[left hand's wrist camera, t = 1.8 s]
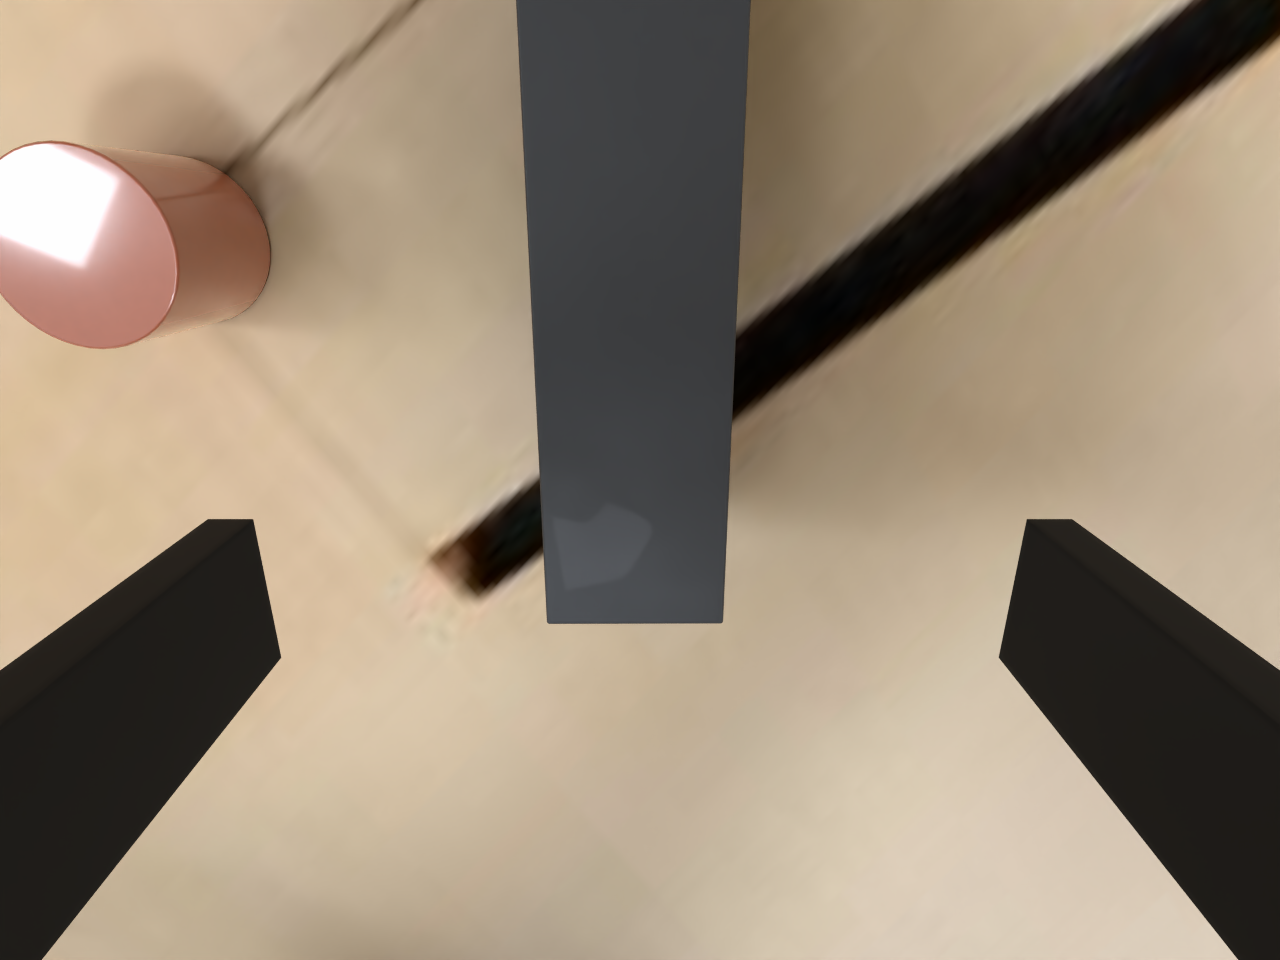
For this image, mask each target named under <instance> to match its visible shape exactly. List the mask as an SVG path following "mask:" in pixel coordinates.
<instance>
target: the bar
mask: <svg viewBox="0 0 1280 960" xmlns="http://www.w3.org/2000/svg"><path fill="white" fill-rule="evenodd" d="M750 3H751V0H516V7H517V27H518V47H519V67H520V87H521V107H522V128H523V148H524V168H525V188H526V208H527V228H528V248H529V269H530V289H531V309H532V329H533V349H534V369H535V389H536V409H537V430H538V450H539V470H540V490H541V510H542V530H543V550H544V570H545V591H546V611H547V622H548V623H549V624H618V623H722V622H723V609H724V586H725V564H726V541H727V519H728V497H729V474H730V452H731V429H732V407H733V384H734V362H735V340H736V317H737V295H738V272H739V250H740V228H741V205H742V183H743V160H744V138H745V115H746V93H747V71H748V48H749V26H750Z"/></svg>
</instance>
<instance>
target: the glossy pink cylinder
mask: <svg viewBox="0 0 1280 960" xmlns="http://www.w3.org/2000/svg"><path fill="white" fill-rule="evenodd" d="M269 266H270V247H269V240H268V235H267V231H266V228H265V226H264V223H263V220H262V218H261V216H260V214H259V212H258V210H257V208H256V207H255V205H254V204H253V202H252V200H251V199H250V198H249V197H248V195H247V194H246V193H245V192H244V190H243V189H242V188H241V187H240V186H239V185H238V184H237V183H236V182H235V181H233V180H232V179H231V178H230V177H229V176H227V175H226V174H225V173H223V172H222V171H220V170H218V169H217V168H215V167H213V166H211V165H209V164H207V163H205V162H202V161H199V160H196V159H193V158H188V157H183V156H176V155H168V154H160V153H152V152H144V151H136V150H128V149H120V148H112V147H104V146H96V145H88V144H80V143H72V142H64V141H38V142H33V143H29V144H25V145H22V146H20V147H17V148H15V149H13V150H11V151H10V152H8V153H6V154H5V155H3V156H2V157H1V158H0V294H1V295H2V296H3V297H4V299H5V300H6V301H7V302H8V303H9V304H10V305H11V306H12V307H13V309H14V310H15V311H16V312H18V313H19V314H20V315H21V316H22V317H23V318H24V319H26V320H27V321H28V322H30V323H31V324H32V325H34V326H35V327H37V328H38V329H40V330H41V331H43V332H45V333H47V334H48V335H50V336H52V337H55V338H57V339H59V340H62V341H64V342H67V343H70V344H73V345H77V346H81V347H87V348H95V349H111V348H119V347H124V346H128V345H132V344H136V343H140V342H144V341H147V340H151V339H155V338H159V337H163V336H167V335H170V334H174V333H178V332H182V331H186V330H190V329H194V328H197V327H201V326H205V325H209V324H213V323H217V322H220V321H224V320H227V319H230V318H233V317H235V316H237V315H238V314H240V313H242V312H243V311H245V310H246V309H247V308H248V307H250V306H251V305H252V303H253V302H254V301H255V300H256V299H257V297H258V296H259V294H260V293H261V291H262V289H263V287H264V285H265V283H266V279H267V276H268V272H269Z"/></svg>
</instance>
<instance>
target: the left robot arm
mask: <svg viewBox="0 0 1280 960" xmlns="http://www.w3.org/2000/svg"><path fill="white" fill-rule="evenodd" d="M280 658H281V654H280V649H279V644H278V640H277V635H276V630H275V625H274V620H273V615H272V610H271V605H270V600H269V595H268V590H267V585H266V580H265V575H264V571H263V566H262V561H261V556H260V551H259V546H258V541H257V536H256V531H255V526H254V521H253V519H208V520H206V521H205V522H204V523H202V524H201V525H199V526H198V527H197V528H195V529H194V530H193V531H191V532H190V533H188V534H187V535H186V536H184V537H183V538H182V539H180V540H179V541H177V542H176V543H175V544H173V545H172V546H171V547H169V548H168V549H166V550H165V551H164V552H162V553H161V554H160V555H158V556H157V557H155V558H154V559H153V560H151V561H150V562H149V563H147V564H146V565H144V566H143V567H142V568H140V569H139V570H138V571H136V572H135V573H133V574H132V575H131V576H129V577H128V578H127V579H125V580H124V581H123V582H121V583H120V584H118V585H117V586H116V587H114V588H113V589H112V590H110V591H109V592H107V593H106V594H105V595H103V596H102V597H101V598H99V599H98V600H96V601H95V602H94V603H92V604H91V605H90V606H88V607H87V608H85V609H84V610H83V611H81V612H80V613H79V614H77V615H76V616H74V617H73V618H72V619H70V620H69V621H68V622H66V623H65V624H63V625H62V626H61V627H59V628H58V629H57V630H55V631H54V632H52V633H51V634H50V635H48V636H47V637H46V638H44V639H43V640H41V641H40V642H39V643H37V644H36V645H35V646H33V647H32V648H30V649H29V650H28V651H26V652H25V653H24V654H22V655H21V656H19V657H18V658H17V659H15V660H14V661H13V662H11V663H10V664H8V665H7V666H6V667H4V668H3V669H2V670H0V960H42V959H43V957H44V956H45V955H46V954H47V952H48V951H49V950H50V949H51V947H52V946H53V945H54V944H55V942H56V941H57V940H58V939H59V937H60V936H61V935H62V933H63V932H64V931H65V930H66V928H67V927H68V926H69V925H70V923H71V922H72V921H73V920H74V918H75V917H76V916H77V915H78V913H79V912H80V911H81V909H82V908H83V907H84V906H85V904H86V903H87V902H88V901H89V899H90V898H91V897H92V896H93V894H94V893H95V892H96V891H97V889H98V888H99V887H100V886H101V884H102V883H103V882H104V880H105V879H106V878H107V877H108V875H109V874H110V873H111V872H112V870H113V869H114V868H115V867H116V865H117V864H118V863H119V862H120V860H121V859H122V858H123V856H124V855H125V854H126V853H127V851H128V850H129V849H130V848H131V846H132V845H133V844H134V843H135V841H136V840H137V839H138V838H139V836H140V835H141V834H142V833H143V831H144V830H145V829H146V827H147V826H148V825H149V824H150V822H151V821H152V820H153V819H154V817H155V816H156V815H157V814H158V812H159V811H160V810H161V809H162V807H163V806H164V805H165V803H166V802H167V801H168V800H169V798H170V797H171V796H172V795H173V793H174V792H175V791H176V790H177V788H178V787H179V786H180V785H181V783H182V782H183V781H184V780H185V778H186V777H187V776H188V774H189V773H190V772H191V771H192V769H193V768H194V767H195V766H196V764H197V763H198V762H199V761H200V759H201V758H202V757H203V756H204V754H205V753H206V752H207V751H208V749H209V748H210V747H211V745H212V744H213V743H214V742H215V740H216V739H217V738H218V737H219V735H220V734H221V733H222V732H223V730H224V729H225V728H226V727H227V725H228V724H229V723H230V721H231V720H232V719H233V718H234V716H235V715H236V714H237V713H238V711H239V710H240V709H241V708H242V706H243V705H244V704H245V703H246V701H247V700H248V699H249V698H250V696H251V695H252V694H253V692H254V691H255V690H256V689H257V687H258V686H259V685H260V684H261V682H262V681H263V680H264V679H265V677H266V676H267V675H268V674H269V672H270V671H271V670H272V668H273V667H274V666H275V665H276V663H277V662H278V661H279V660H280ZM999 658H1000V660H1001V661H1002V662H1003V663H1004V665H1005V666H1006V667H1007V668H1008V670H1009V671H1010V672H1011V674H1012V675H1013V676H1014V677H1015V679H1016V680H1017V681H1018V682H1019V684H1020V685H1021V686H1022V687H1023V689H1024V690H1025V691H1026V692H1027V694H1028V695H1029V696H1030V698H1031V699H1032V700H1033V701H1034V703H1035V704H1036V705H1037V706H1038V708H1039V709H1040V710H1041V711H1042V713H1043V714H1044V715H1045V716H1046V718H1047V719H1048V720H1049V721H1050V723H1051V724H1052V725H1053V727H1054V728H1055V729H1056V730H1057V732H1058V733H1059V734H1060V735H1061V737H1062V738H1063V739H1064V740H1065V742H1066V743H1067V744H1068V745H1069V747H1070V748H1071V749H1072V751H1073V752H1074V753H1075V754H1076V756H1077V757H1078V758H1079V759H1080V761H1081V762H1082V763H1083V764H1084V766H1085V767H1086V768H1087V769H1088V771H1089V772H1090V773H1091V774H1092V776H1093V777H1094V778H1095V780H1096V781H1097V782H1098V783H1099V785H1100V786H1101V787H1102V788H1103V790H1104V791H1105V792H1106V793H1107V795H1108V796H1109V797H1110V798H1111V800H1112V801H1113V802H1114V803H1115V805H1116V806H1117V807H1118V809H1119V810H1120V811H1121V812H1122V814H1123V815H1124V816H1125V817H1126V819H1127V820H1128V821H1129V822H1130V824H1131V825H1132V826H1133V827H1134V829H1135V830H1136V831H1137V833H1138V834H1139V835H1140V836H1141V838H1142V839H1143V840H1144V841H1145V843H1146V844H1147V845H1148V846H1149V848H1150V849H1151V850H1152V851H1153V853H1154V854H1155V855H1156V856H1157V858H1158V859H1159V860H1160V862H1161V863H1162V864H1163V865H1164V867H1165V868H1166V869H1167V870H1168V872H1169V873H1170V874H1171V875H1172V877H1173V878H1174V879H1175V880H1176V882H1177V883H1178V884H1179V886H1180V887H1181V888H1182V889H1183V891H1184V892H1185V893H1186V894H1187V896H1188V897H1189V898H1190V899H1191V901H1192V902H1193V903H1194V904H1195V906H1196V907H1197V908H1198V909H1199V911H1200V912H1201V913H1202V915H1203V916H1204V917H1205V918H1206V920H1207V921H1208V922H1209V923H1210V925H1211V926H1212V927H1213V928H1214V930H1215V931H1216V932H1217V933H1218V935H1219V936H1220V937H1221V939H1222V940H1223V941H1224V942H1225V944H1226V945H1227V946H1228V947H1229V949H1230V950H1231V951H1232V952H1233V954H1234V955H1235V956H1236V957H1237V959H1238V960H1280V670H1278V669H1277V668H1276V667H1274V666H1273V665H1272V664H1270V663H1269V662H1267V661H1266V660H1265V659H1263V658H1262V657H1261V656H1259V655H1258V654H1256V653H1255V652H1254V651H1252V650H1251V649H1250V648H1248V647H1247V646H1245V645H1244V644H1243V643H1241V642H1240V641H1239V640H1237V639H1236V638H1234V637H1233V636H1232V635H1230V634H1229V633H1228V632H1226V631H1225V630H1223V629H1222V628H1221V627H1219V626H1218V625H1217V624H1215V623H1214V622H1212V621H1211V620H1210V619H1208V618H1207V617H1206V616H1204V615H1203V614H1201V613H1200V612H1199V611H1197V610H1196V609H1195V608H1193V607H1192V606H1190V605H1189V604H1188V603H1186V602H1185V601H1184V600H1182V599H1181V598H1179V597H1178V596H1177V595H1175V594H1174V593H1173V592H1171V591H1170V590H1168V589H1167V588H1166V587H1164V586H1163V585H1162V584H1160V583H1159V582H1157V581H1156V580H1155V579H1153V578H1152V577H1151V576H1149V575H1148V574H1147V573H1145V572H1144V571H1142V570H1141V569H1140V568H1138V567H1137V566H1136V565H1134V564H1133V563H1131V562H1130V561H1129V560H1127V559H1126V558H1125V557H1123V556H1122V555H1120V554H1119V553H1118V552H1116V551H1115V550H1114V549H1112V548H1111V547H1109V546H1108V545H1107V544H1105V543H1104V542H1103V541H1101V540H1100V539H1098V538H1097V537H1096V536H1094V535H1093V534H1092V533H1090V532H1089V531H1087V530H1086V529H1085V528H1083V527H1082V526H1081V525H1079V524H1078V523H1076V522H1075V521H1074V520H1072V519H1027V521H1026V526H1025V531H1024V536H1023V541H1022V546H1021V551H1020V556H1019V561H1018V566H1017V571H1016V575H1015V580H1014V585H1013V590H1012V595H1011V600H1010V605H1009V610H1008V615H1007V620H1006V625H1005V630H1004V635H1003V640H1002V644H1001V649H1000V654H999Z"/></svg>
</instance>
